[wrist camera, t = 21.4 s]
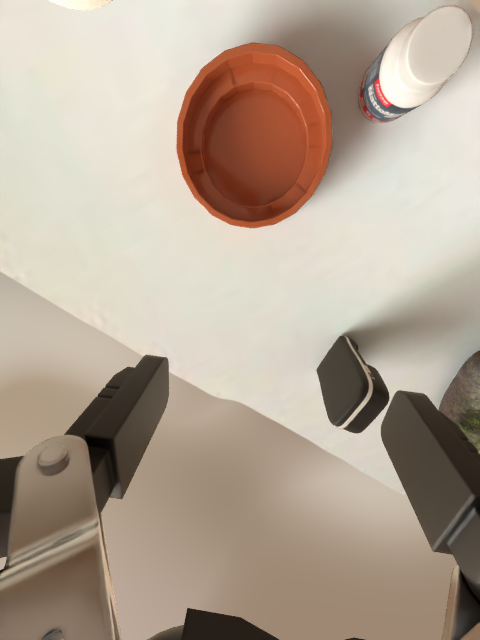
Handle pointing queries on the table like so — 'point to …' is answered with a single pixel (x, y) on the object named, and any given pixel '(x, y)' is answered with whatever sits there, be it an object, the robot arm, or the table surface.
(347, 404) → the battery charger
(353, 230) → the table surface
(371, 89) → the pill bottle
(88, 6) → the lidded bowl
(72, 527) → the robot arm
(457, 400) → the stone
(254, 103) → the terracotta bowl
